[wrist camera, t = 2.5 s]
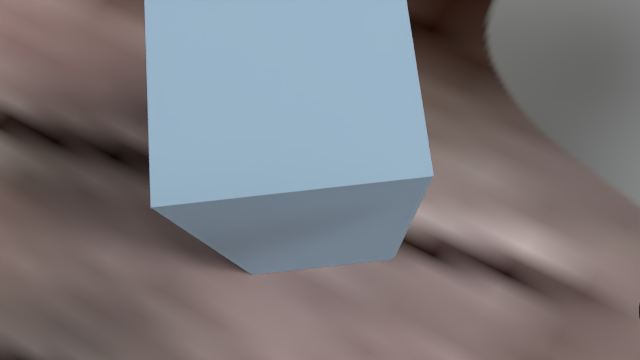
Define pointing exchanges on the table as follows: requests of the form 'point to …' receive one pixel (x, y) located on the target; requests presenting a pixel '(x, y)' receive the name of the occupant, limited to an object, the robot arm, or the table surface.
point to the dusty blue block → (286, 128)
